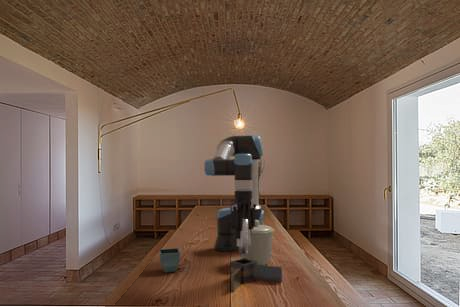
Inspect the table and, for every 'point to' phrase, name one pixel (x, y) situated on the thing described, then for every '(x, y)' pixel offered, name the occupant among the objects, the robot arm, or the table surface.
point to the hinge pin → (244, 237)
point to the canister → (260, 244)
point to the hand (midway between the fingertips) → (243, 245)
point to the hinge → (252, 272)
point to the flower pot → (169, 259)
